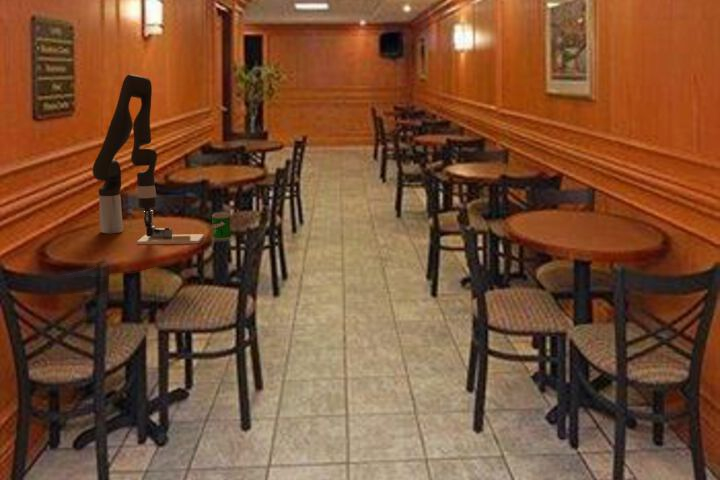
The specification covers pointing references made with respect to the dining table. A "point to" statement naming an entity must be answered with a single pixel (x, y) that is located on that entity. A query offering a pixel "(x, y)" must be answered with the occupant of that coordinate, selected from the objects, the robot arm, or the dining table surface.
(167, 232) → the latch bar
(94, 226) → the dining table surface
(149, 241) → the lock board
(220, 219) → the soda can
